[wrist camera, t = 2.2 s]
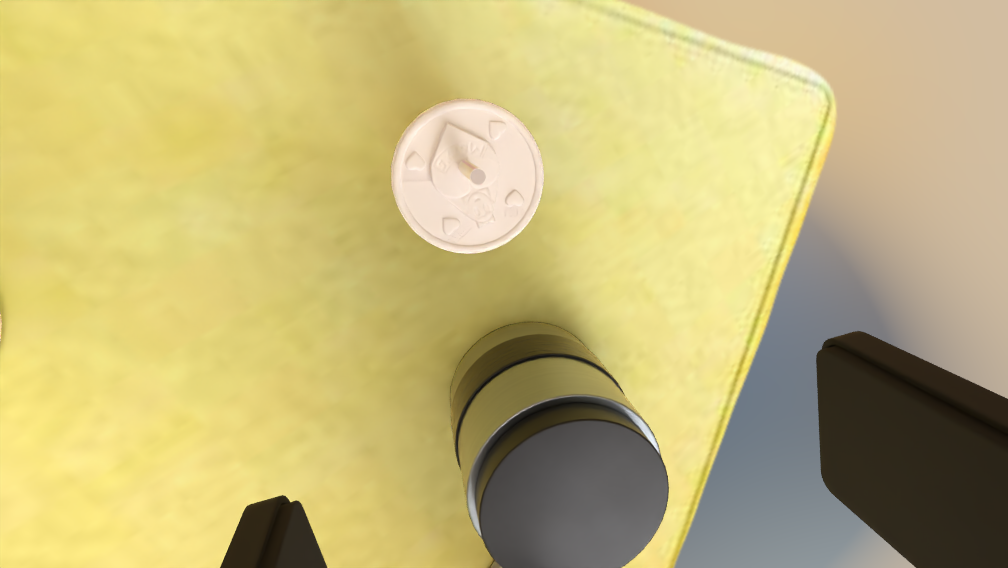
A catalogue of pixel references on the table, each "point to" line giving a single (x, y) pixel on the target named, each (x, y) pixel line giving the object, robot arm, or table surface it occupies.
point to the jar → (553, 453)
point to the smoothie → (467, 175)
